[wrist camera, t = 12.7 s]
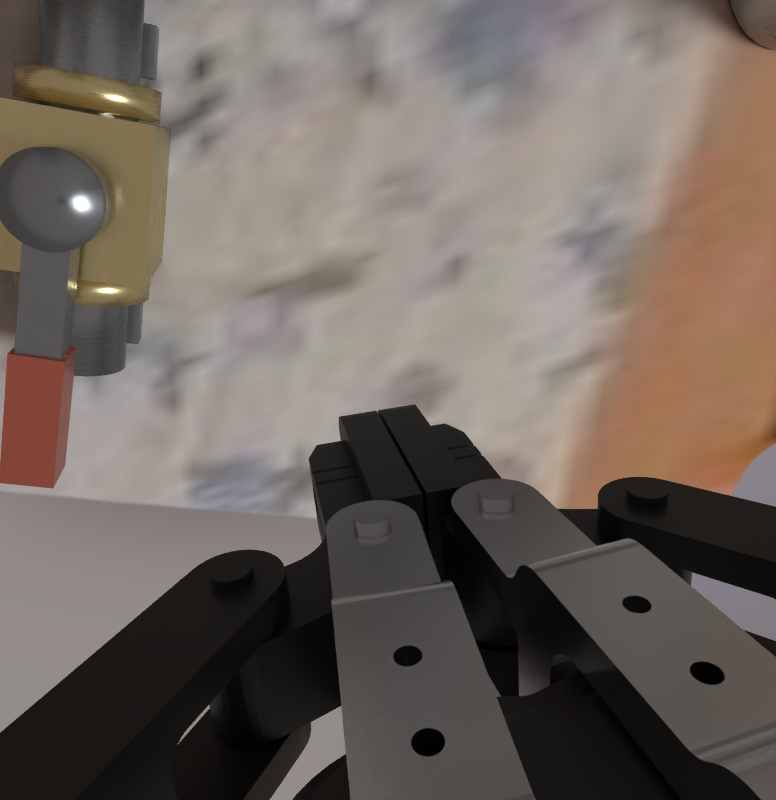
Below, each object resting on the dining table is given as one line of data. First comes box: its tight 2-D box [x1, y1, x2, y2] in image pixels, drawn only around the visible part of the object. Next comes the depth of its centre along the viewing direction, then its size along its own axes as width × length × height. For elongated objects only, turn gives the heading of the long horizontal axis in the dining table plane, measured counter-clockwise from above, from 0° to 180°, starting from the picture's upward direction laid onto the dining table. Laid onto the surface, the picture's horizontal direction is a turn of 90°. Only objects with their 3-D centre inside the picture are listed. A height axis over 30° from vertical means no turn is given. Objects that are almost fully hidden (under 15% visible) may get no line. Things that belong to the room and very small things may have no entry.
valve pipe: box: [0, 0, 171, 376], centre depth 33 cm, size 18×7×8 cm, turn 170°
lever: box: [0, 147, 113, 488], centre depth 29 cm, size 14×4×2 cm, turn 167°
